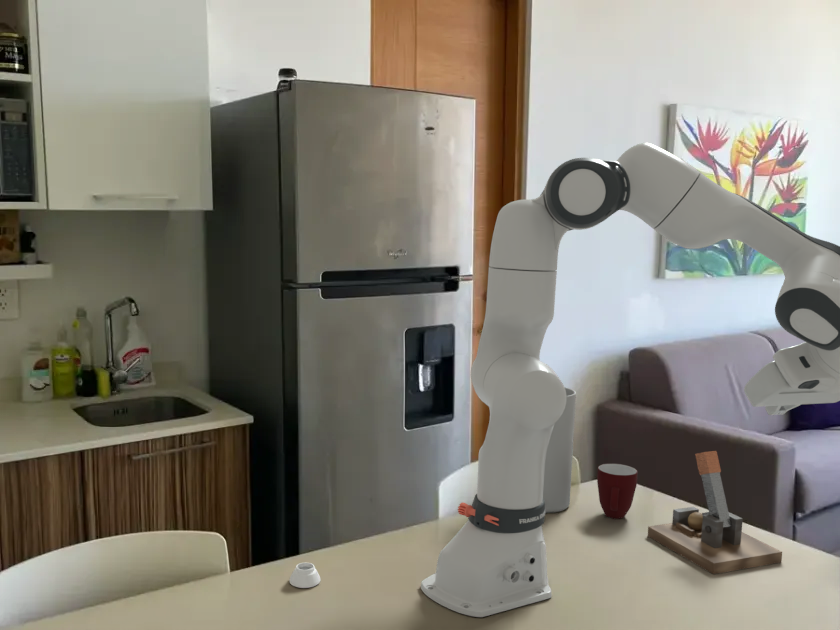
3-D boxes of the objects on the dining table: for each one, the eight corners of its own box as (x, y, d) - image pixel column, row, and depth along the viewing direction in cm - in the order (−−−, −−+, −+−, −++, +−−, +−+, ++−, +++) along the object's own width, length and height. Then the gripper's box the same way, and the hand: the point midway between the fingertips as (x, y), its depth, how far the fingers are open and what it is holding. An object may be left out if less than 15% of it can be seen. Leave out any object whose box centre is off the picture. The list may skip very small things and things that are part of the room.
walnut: (700, 534, 155) (701, 517, 154) (683, 529, 157) (685, 512, 157) (709, 530, 157) (710, 513, 157) (692, 525, 160) (694, 508, 159)
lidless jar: (285, 588, 132) (314, 591, 131) (285, 570, 131) (315, 574, 130) (295, 575, 136) (323, 578, 136) (295, 558, 136) (324, 561, 135)
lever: (721, 527, 149) (704, 451, 153) (704, 529, 153) (688, 455, 157) (733, 526, 150) (716, 450, 154) (716, 527, 154) (700, 454, 158)
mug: (637, 528, 162) (640, 480, 161) (596, 525, 163) (599, 477, 162) (632, 510, 173) (635, 465, 171) (594, 507, 174) (596, 462, 173)
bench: (713, 574, 142) (716, 536, 141) (647, 536, 159) (650, 501, 158) (781, 562, 148) (784, 525, 147) (711, 526, 165) (714, 493, 164)
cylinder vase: (509, 511, 170) (515, 394, 167) (512, 491, 182) (518, 382, 179) (570, 516, 168) (576, 398, 165) (569, 496, 180) (575, 386, 177)
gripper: (861, 348, 135) (807, 394, 145) (769, 350, 127) (719, 398, 137) (883, 379, 132) (826, 424, 142) (790, 383, 124) (736, 430, 134)
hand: (773, 411), depth 139 cm, fingers closed
